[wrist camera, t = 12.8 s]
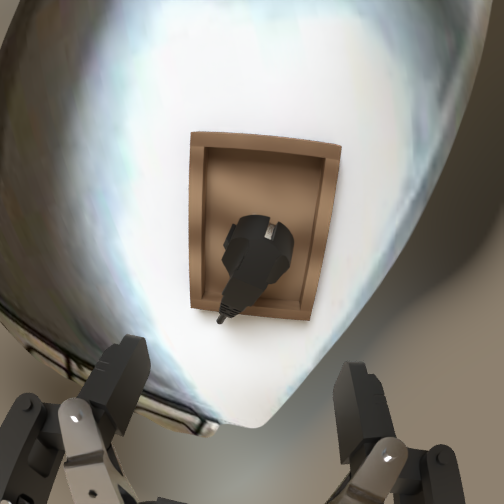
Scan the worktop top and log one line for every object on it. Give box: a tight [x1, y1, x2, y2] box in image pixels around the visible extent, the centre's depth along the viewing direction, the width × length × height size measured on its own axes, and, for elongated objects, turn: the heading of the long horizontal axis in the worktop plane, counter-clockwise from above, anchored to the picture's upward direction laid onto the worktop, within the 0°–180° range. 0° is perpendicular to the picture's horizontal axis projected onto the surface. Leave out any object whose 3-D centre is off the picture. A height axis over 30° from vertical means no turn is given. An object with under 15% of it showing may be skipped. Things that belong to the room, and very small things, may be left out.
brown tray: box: [189, 131, 342, 321], centre depth 27 cm, size 17×12×2 cm
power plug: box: [217, 212, 294, 324], centre depth 26 cm, size 6×8×12 cm
